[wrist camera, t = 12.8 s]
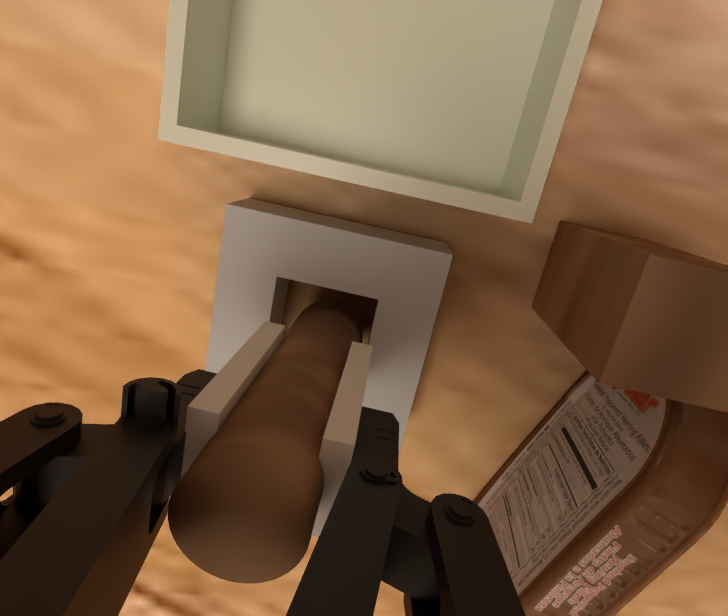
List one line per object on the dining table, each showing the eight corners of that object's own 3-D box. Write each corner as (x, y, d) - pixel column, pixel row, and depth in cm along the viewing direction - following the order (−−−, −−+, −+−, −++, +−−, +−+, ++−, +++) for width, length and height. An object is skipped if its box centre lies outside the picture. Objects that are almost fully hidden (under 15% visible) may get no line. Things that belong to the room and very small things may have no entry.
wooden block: (651, 241, 21) (792, 286, 13) (617, 326, 22) (730, 412, 15) (560, 220, 21) (650, 254, 14) (531, 307, 22) (598, 383, 15)
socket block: (446, 242, 22) (453, 255, 19) (399, 418, 24) (399, 452, 22) (249, 198, 22) (226, 203, 19) (223, 378, 25) (200, 406, 22)
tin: (474, 565, 27) (505, 738, 19) (426, 537, 26) (437, 701, 18) (668, 351, 23) (816, 457, 15) (614, 315, 22) (734, 403, 14)
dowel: (369, 309, 21) (323, 480, 10) (354, 372, 22) (296, 597, 10) (301, 293, 21) (175, 445, 10) (289, 356, 22) (161, 564, 11)
